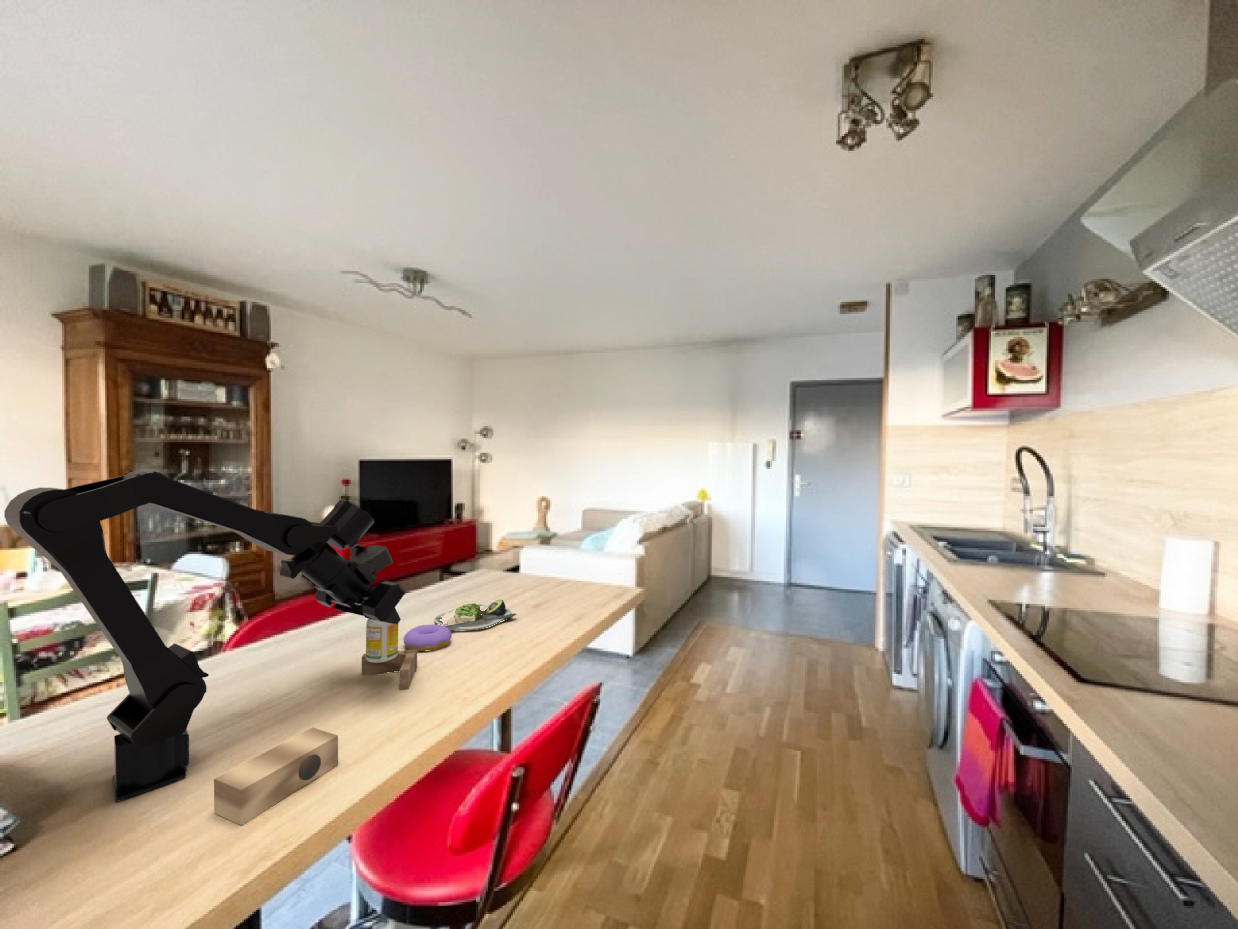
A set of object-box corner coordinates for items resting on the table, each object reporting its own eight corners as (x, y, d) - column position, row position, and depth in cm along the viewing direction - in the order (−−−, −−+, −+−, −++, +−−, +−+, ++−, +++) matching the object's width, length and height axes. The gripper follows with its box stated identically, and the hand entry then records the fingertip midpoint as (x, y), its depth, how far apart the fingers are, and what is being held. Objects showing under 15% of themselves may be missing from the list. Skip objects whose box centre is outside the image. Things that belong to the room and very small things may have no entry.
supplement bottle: (367, 665, 88) (367, 611, 88) (364, 655, 93) (364, 604, 93) (400, 659, 91) (400, 607, 91) (395, 650, 96) (396, 600, 96)
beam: (242, 826, 56) (242, 790, 56) (214, 813, 58) (214, 778, 58) (339, 765, 67) (339, 735, 67) (312, 756, 69) (312, 727, 69)
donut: (394, 652, 105) (396, 628, 106) (413, 645, 114) (415, 623, 115) (441, 653, 105) (443, 629, 106) (456, 646, 114) (458, 624, 115)
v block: (403, 691, 88) (403, 671, 88) (358, 674, 95) (358, 655, 95) (440, 674, 95) (440, 656, 95) (395, 659, 102) (395, 642, 102)
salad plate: (469, 642, 113) (469, 622, 113) (414, 629, 121) (414, 610, 121) (524, 618, 130) (524, 600, 130) (472, 608, 138) (472, 591, 138)
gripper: (396, 537, 84) (448, 589, 93) (333, 528, 93) (386, 576, 103) (349, 594, 77) (411, 644, 86) (286, 579, 86) (348, 625, 96)
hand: (389, 619), depth 93 cm, fingers closed on supplement bottle, 5 cm apart
